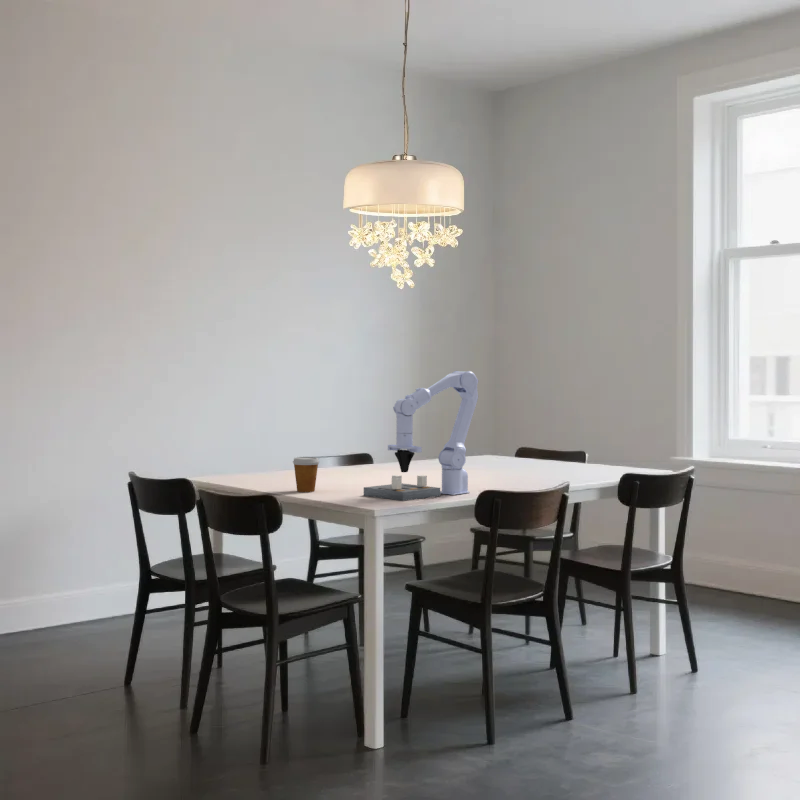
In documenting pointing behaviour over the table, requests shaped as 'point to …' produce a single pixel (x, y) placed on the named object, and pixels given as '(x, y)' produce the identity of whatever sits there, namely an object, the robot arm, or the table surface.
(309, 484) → the disposable coffee cup
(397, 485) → the block
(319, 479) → the table surface
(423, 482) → the breaker
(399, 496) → the panel
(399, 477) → the block
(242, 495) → the table surface
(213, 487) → the table surface
